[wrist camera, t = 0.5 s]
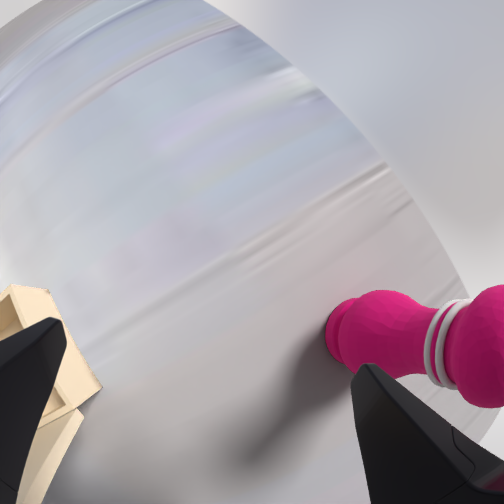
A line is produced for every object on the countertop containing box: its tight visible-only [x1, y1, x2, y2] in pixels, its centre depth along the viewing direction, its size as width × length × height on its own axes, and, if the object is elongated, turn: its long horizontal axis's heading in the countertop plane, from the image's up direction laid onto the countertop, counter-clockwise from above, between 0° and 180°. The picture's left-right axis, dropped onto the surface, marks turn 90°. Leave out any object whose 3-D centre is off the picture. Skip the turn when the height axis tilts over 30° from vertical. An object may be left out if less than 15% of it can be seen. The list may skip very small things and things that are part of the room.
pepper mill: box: [325, 285, 504, 408], centre depth 14 cm, size 7×7×20 cm
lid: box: [16, 408, 84, 504], centre depth 8 cm, size 10×14×1 cm
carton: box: [0, 284, 102, 429], centre depth 16 cm, size 10×14×6 cm
